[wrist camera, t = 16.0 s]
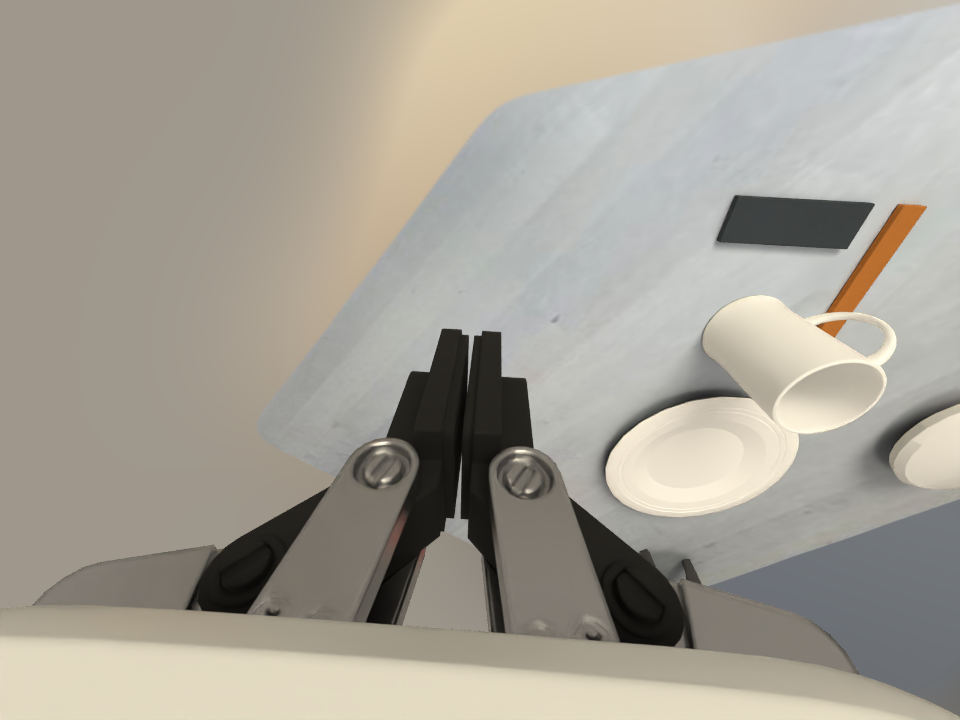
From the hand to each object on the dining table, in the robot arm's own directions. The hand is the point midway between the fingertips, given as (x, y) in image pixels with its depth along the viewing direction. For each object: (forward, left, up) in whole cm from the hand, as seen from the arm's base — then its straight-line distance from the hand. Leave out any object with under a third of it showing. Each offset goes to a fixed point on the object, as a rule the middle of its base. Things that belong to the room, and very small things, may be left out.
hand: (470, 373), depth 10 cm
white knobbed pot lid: (+24, +61, -27) cm, 71 cm away
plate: (+32, +31, -27) cm, 52 cm away
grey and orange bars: (+7, +30, -27) cm, 41 cm away
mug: (+11, +30, -27) cm, 42 cm away
